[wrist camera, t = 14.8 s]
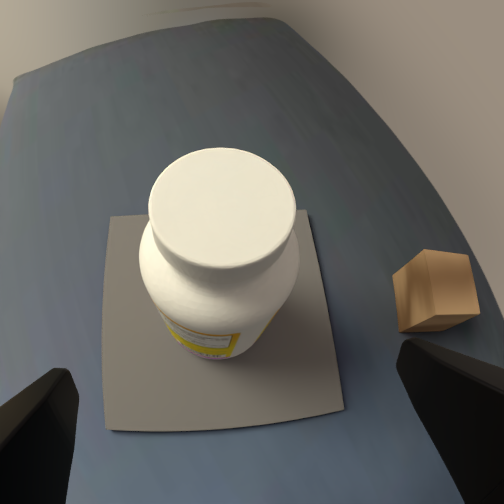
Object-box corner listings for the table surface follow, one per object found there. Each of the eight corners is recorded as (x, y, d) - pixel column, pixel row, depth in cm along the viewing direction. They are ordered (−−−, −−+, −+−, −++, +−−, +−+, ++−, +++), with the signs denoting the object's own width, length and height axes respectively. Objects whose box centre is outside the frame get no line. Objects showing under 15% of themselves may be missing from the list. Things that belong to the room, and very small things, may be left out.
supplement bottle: (238, 254, 23) (267, 113, 12) (281, 335, 21) (367, 248, 9) (152, 289, 21) (100, 160, 10) (190, 377, 19) (160, 342, 7)
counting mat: (340, 409, 19) (344, 409, 19) (108, 428, 17) (105, 429, 16) (304, 213, 26) (306, 209, 26) (112, 220, 24) (110, 216, 23)
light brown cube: (442, 331, 23) (480, 313, 19) (398, 332, 23) (435, 314, 18) (434, 278, 25) (467, 255, 21) (392, 275, 25) (424, 249, 20)
